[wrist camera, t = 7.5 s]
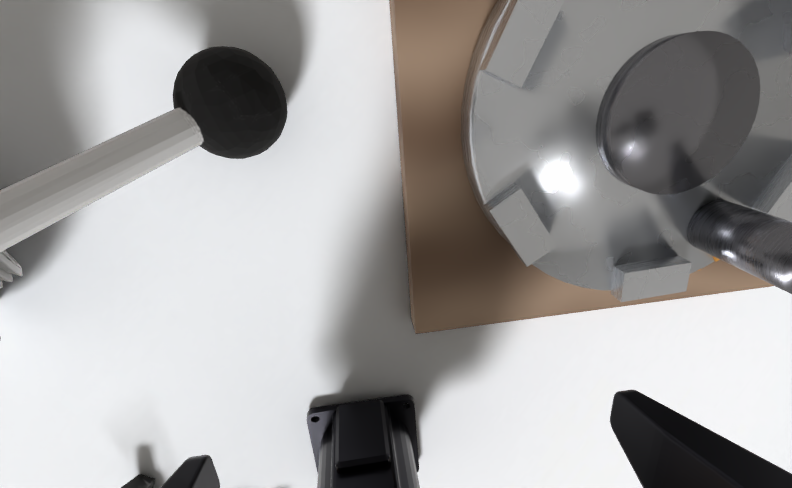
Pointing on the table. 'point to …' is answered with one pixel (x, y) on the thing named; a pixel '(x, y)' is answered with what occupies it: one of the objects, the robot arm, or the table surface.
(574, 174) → the rotary indexing table
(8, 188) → the mechanical valve
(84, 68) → the table surface
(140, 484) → the soldier figurine
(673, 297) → the base plate
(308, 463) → the table surface
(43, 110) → the table surface
